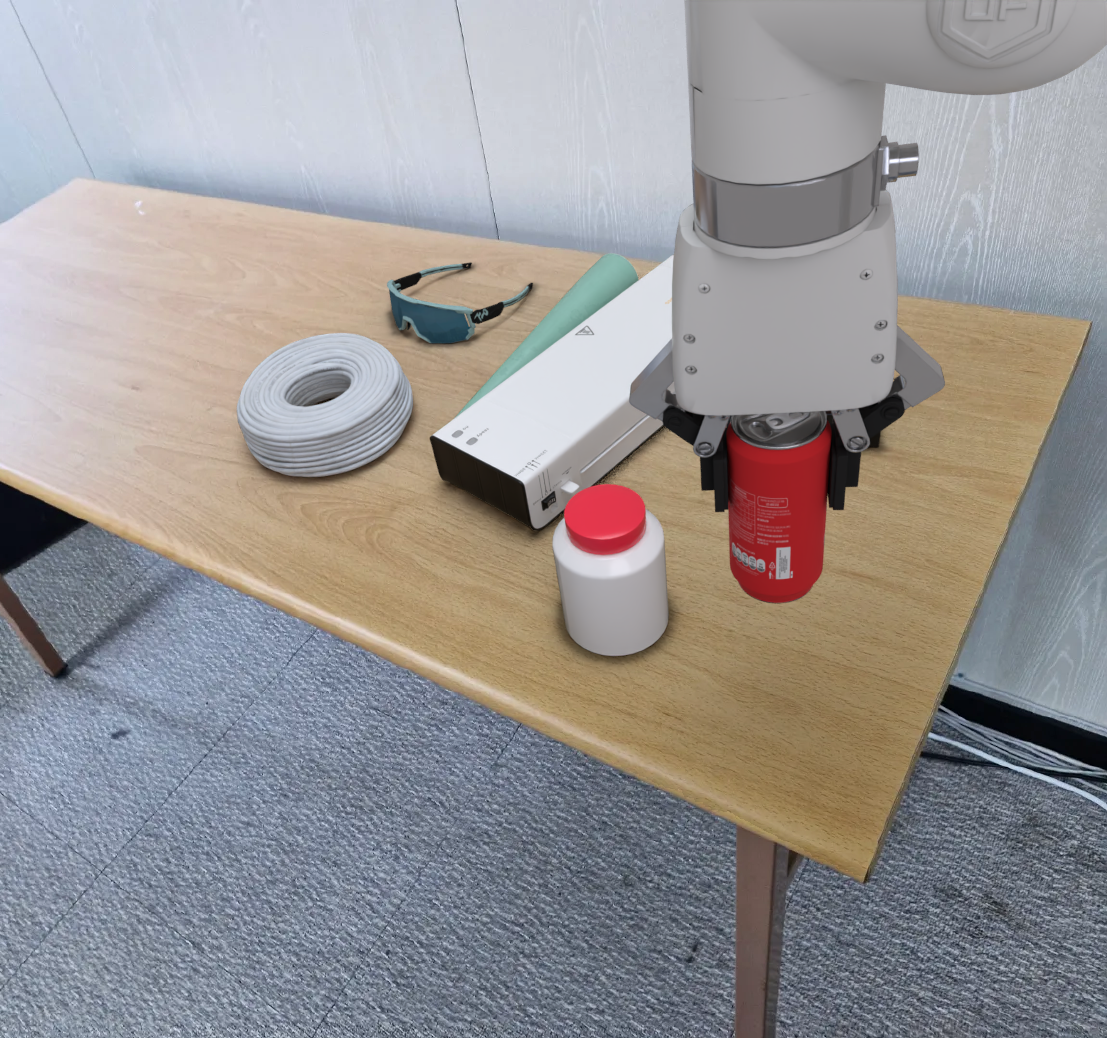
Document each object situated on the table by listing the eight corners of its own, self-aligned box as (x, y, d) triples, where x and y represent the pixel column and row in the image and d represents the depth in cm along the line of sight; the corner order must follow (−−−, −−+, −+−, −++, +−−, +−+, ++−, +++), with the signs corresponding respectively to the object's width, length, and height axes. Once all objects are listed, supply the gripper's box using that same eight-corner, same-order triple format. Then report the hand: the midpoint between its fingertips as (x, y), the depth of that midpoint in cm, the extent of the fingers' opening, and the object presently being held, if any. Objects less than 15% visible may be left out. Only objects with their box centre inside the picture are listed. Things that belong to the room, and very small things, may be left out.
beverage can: (713, 564, 60) (707, 411, 53) (789, 534, 61) (794, 377, 53) (760, 621, 56) (761, 463, 49) (840, 588, 57) (854, 427, 49)
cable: (309, 366, 108) (293, 319, 104) (447, 385, 100) (435, 336, 96) (217, 467, 98) (196, 420, 94) (362, 498, 90) (345, 447, 86)
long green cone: (419, 383, 92) (595, 248, 103) (431, 429, 95) (599, 293, 106) (461, 400, 88) (638, 258, 99) (471, 447, 92) (641, 305, 103)
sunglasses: (368, 322, 112) (361, 282, 109) (461, 276, 119) (457, 237, 116) (452, 358, 103) (447, 315, 100) (547, 306, 110) (546, 264, 107)
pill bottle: (689, 628, 71) (685, 520, 64) (596, 672, 70) (581, 568, 63) (634, 564, 77) (624, 458, 70) (546, 604, 76) (528, 500, 69)
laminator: (674, 305, 102) (672, 252, 98) (780, 339, 94) (782, 282, 90) (441, 487, 89) (428, 435, 84) (542, 544, 81) (532, 489, 77)
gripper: (989, 122, 42) (938, 445, 54) (592, 172, 48) (625, 456, 60) (1027, 203, 37) (961, 541, 49) (576, 249, 42) (615, 543, 54)
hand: (777, 491), depth 54 cm, fingers closed on beverage can, 5 cm apart
